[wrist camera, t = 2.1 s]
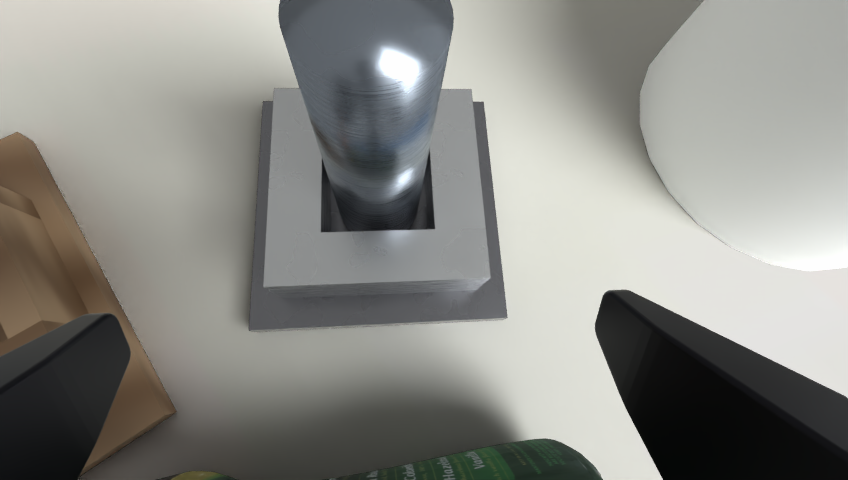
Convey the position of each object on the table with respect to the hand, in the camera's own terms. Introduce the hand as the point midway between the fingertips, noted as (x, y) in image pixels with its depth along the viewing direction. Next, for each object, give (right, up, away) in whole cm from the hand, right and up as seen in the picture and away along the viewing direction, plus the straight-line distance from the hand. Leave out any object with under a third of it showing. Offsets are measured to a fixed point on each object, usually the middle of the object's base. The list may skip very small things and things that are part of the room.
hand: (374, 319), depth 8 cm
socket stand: (-1, +3, +14) cm, 15 cm away
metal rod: (-1, +3, +13) cm, 14 cm away
